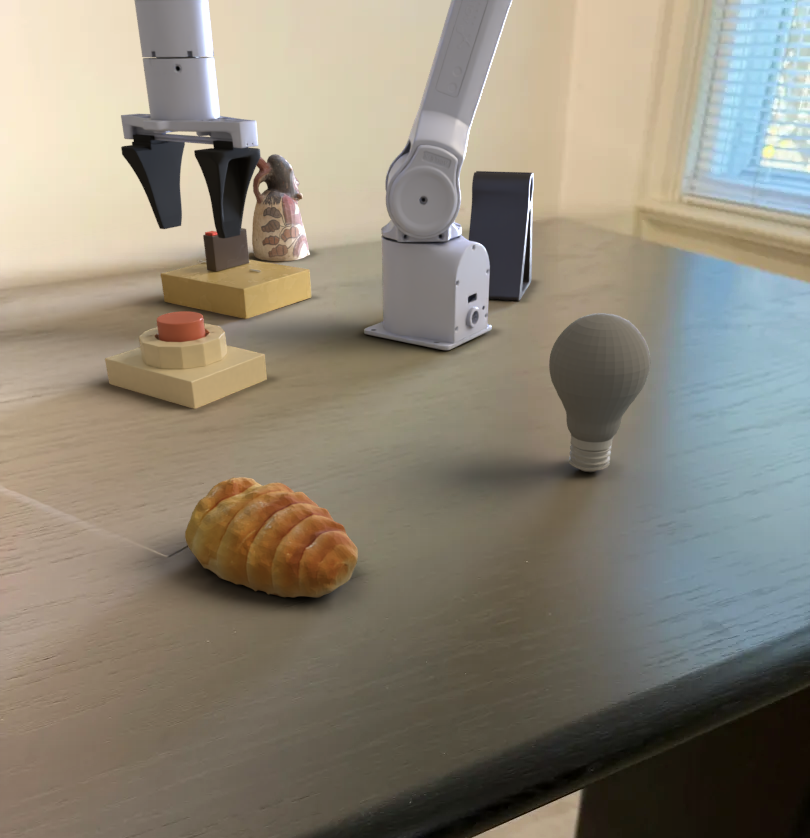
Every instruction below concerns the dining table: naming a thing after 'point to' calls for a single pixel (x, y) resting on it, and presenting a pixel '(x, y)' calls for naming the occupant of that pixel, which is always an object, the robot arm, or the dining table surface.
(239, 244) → the thumb turn
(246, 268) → the plate
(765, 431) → the dining table surface
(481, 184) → the phone stand
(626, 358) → the light bulb
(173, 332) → the bell button
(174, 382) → the block
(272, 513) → the pastry
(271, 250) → the figurine
